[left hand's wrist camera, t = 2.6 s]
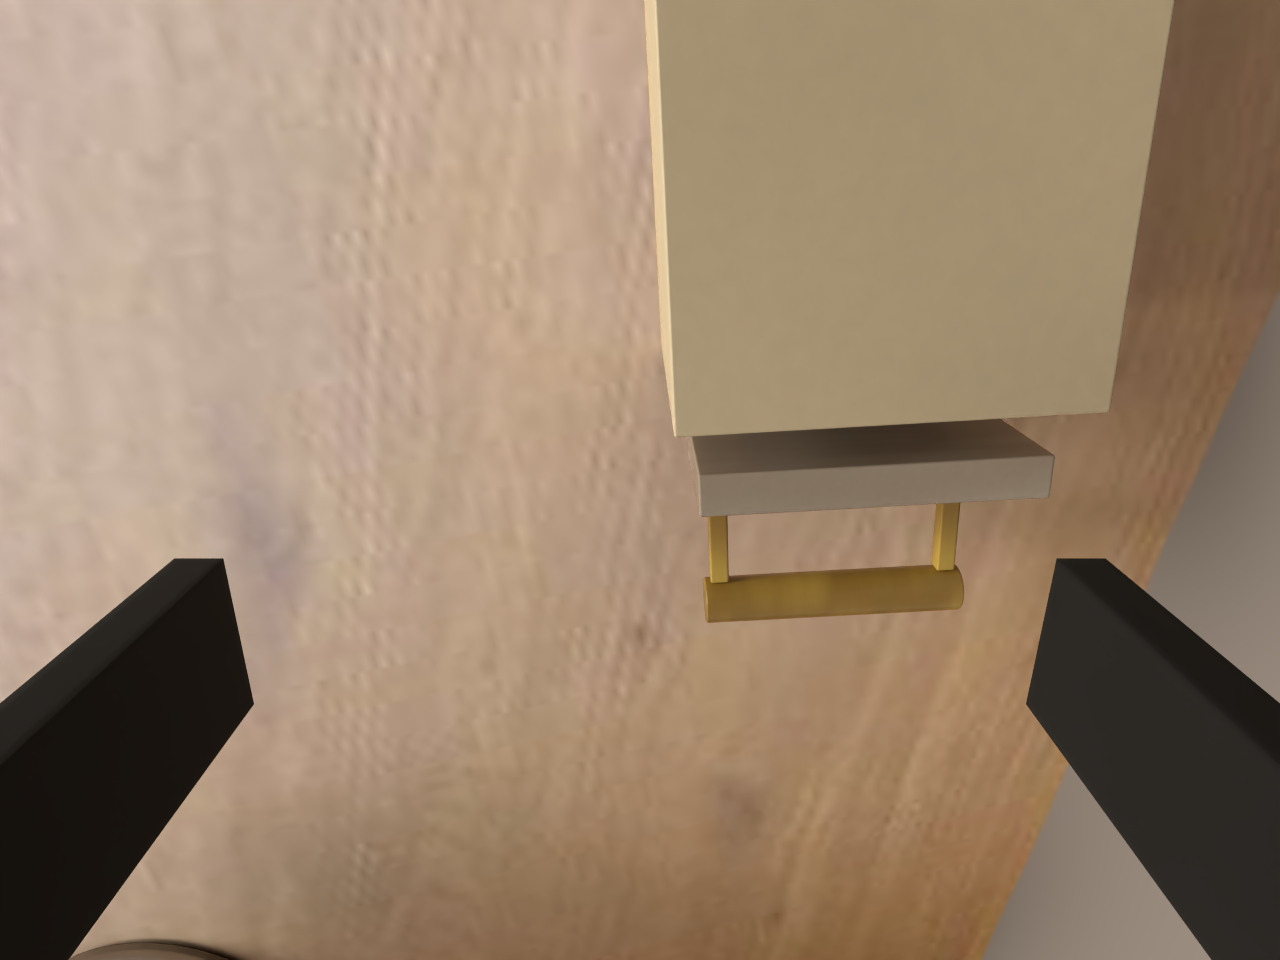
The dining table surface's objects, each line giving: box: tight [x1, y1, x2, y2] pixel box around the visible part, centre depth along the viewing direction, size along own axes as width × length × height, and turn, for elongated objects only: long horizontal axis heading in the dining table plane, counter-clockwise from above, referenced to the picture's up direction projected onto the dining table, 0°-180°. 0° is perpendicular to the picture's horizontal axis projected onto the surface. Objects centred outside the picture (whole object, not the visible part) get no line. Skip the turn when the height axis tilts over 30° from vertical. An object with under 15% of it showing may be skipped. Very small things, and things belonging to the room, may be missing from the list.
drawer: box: [685, 419, 1055, 623], centre depth 23 cm, size 22×9×9 cm, turn 3°
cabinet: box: [644, 0, 1175, 437], centre depth 21 cm, size 17×10×11 cm, turn 3°
